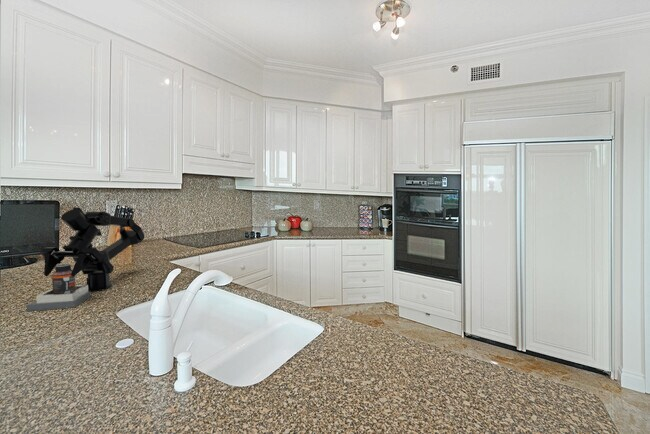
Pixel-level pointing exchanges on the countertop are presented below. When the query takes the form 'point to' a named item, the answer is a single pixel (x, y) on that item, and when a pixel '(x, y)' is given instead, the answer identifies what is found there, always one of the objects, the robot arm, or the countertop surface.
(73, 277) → the supplement bottle
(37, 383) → the countertop surface
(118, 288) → the countertop surface
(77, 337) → the countertop surface
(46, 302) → the plate
